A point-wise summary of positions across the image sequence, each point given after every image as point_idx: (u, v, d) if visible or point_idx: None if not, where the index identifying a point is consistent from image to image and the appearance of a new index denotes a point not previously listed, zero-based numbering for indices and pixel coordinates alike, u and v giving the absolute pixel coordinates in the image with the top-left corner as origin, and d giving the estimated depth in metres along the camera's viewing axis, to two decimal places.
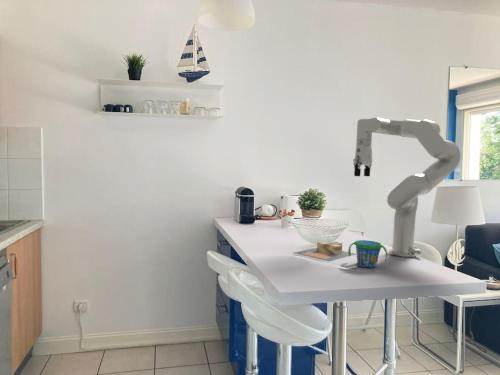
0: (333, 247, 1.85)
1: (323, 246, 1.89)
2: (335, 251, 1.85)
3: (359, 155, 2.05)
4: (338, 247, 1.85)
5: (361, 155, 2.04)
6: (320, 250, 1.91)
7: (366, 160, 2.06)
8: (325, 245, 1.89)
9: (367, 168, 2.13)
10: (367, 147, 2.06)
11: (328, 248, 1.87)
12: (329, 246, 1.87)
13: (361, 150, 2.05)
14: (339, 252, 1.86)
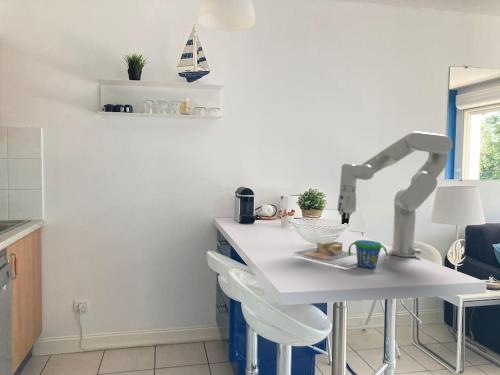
0: (333, 247, 1.85)
1: (323, 246, 1.89)
2: (335, 251, 1.85)
3: (342, 205, 1.94)
4: (338, 247, 1.85)
5: (344, 203, 1.93)
6: (320, 250, 1.91)
7: (349, 208, 1.95)
8: (325, 245, 1.89)
9: None
10: (351, 194, 1.95)
11: (328, 248, 1.87)
12: (329, 246, 1.87)
13: (344, 197, 1.93)
14: (339, 252, 1.86)
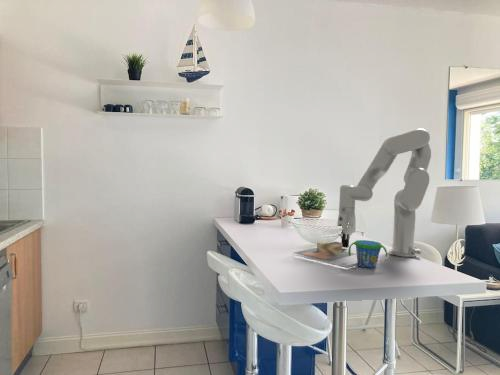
0: (333, 247, 1.85)
1: (323, 246, 1.89)
2: (335, 251, 1.85)
3: (342, 226, 1.95)
4: (338, 247, 1.85)
5: (343, 224, 1.94)
6: (320, 250, 1.91)
7: (349, 229, 1.96)
8: (325, 245, 1.89)
9: None
10: (350, 215, 1.96)
11: (328, 248, 1.87)
12: (329, 246, 1.87)
13: (343, 219, 1.94)
14: (339, 252, 1.86)
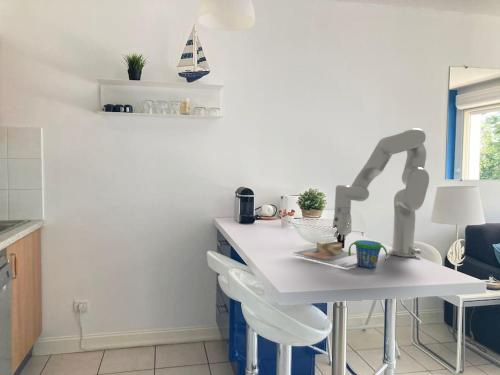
0: (333, 247, 1.85)
1: (322, 246, 1.89)
2: (335, 251, 1.84)
3: (337, 227, 1.92)
4: (337, 247, 1.85)
5: (339, 225, 1.91)
6: (320, 250, 1.90)
7: (344, 229, 1.93)
8: (324, 245, 1.88)
9: None
10: (346, 215, 1.93)
11: (328, 248, 1.87)
12: (329, 246, 1.87)
13: (339, 219, 1.91)
14: (339, 252, 1.86)
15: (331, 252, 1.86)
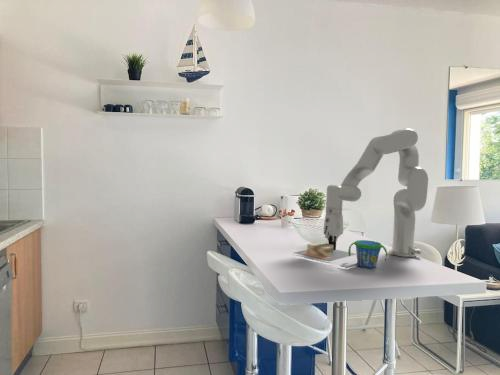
0: (323, 249, 1.80)
1: (313, 248, 1.84)
2: (325, 253, 1.79)
3: None
4: (328, 249, 1.79)
5: (330, 226, 1.86)
6: (310, 252, 1.85)
7: (336, 231, 1.88)
8: (315, 247, 1.83)
9: None
10: (337, 216, 1.88)
11: (318, 250, 1.82)
12: (319, 248, 1.82)
13: (330, 220, 1.86)
14: (330, 254, 1.80)
15: (322, 254, 1.81)
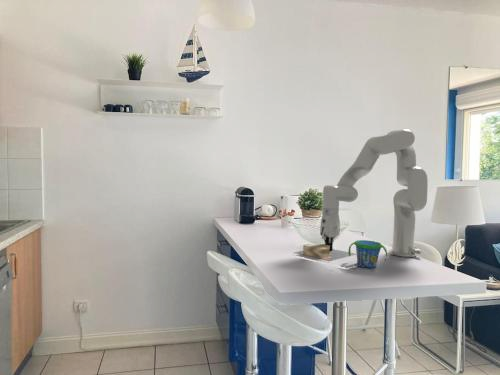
0: (319, 250, 1.78)
1: (309, 249, 1.82)
2: (321, 254, 1.77)
3: (325, 229, 1.85)
4: (324, 250, 1.77)
5: (326, 227, 1.84)
6: (306, 253, 1.83)
7: (332, 232, 1.86)
8: (311, 248, 1.81)
9: None
10: (333, 217, 1.86)
11: (314, 251, 1.80)
12: (315, 249, 1.80)
13: (326, 221, 1.84)
14: (325, 255, 1.78)
15: (317, 255, 1.79)
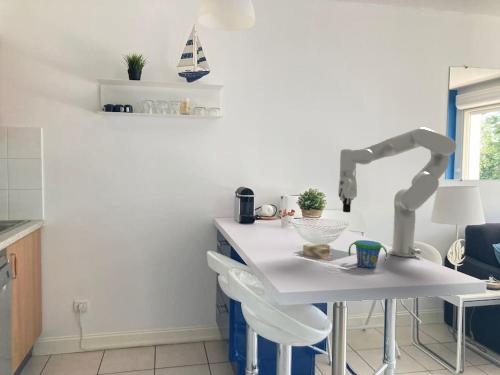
0: (319, 250, 1.78)
1: (309, 249, 1.82)
2: (321, 254, 1.77)
3: (343, 191, 1.93)
4: (324, 250, 1.77)
5: (345, 188, 1.92)
6: (306, 253, 1.83)
7: (350, 193, 1.94)
8: (311, 248, 1.81)
9: None
10: (351, 179, 1.94)
11: (314, 251, 1.80)
12: (315, 249, 1.80)
13: (345, 183, 1.92)
14: (325, 255, 1.78)
15: (317, 255, 1.79)
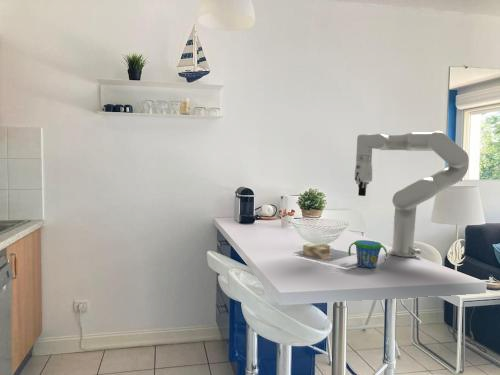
0: (319, 250, 1.78)
1: (309, 249, 1.82)
2: (321, 254, 1.77)
3: None
4: (324, 250, 1.77)
5: (361, 172, 1.98)
6: (306, 253, 1.83)
7: (366, 177, 2.00)
8: (311, 248, 1.81)
9: None
10: (367, 163, 2.00)
11: (314, 251, 1.80)
12: (315, 249, 1.80)
13: (361, 167, 1.98)
14: (325, 255, 1.78)
15: (317, 255, 1.79)
